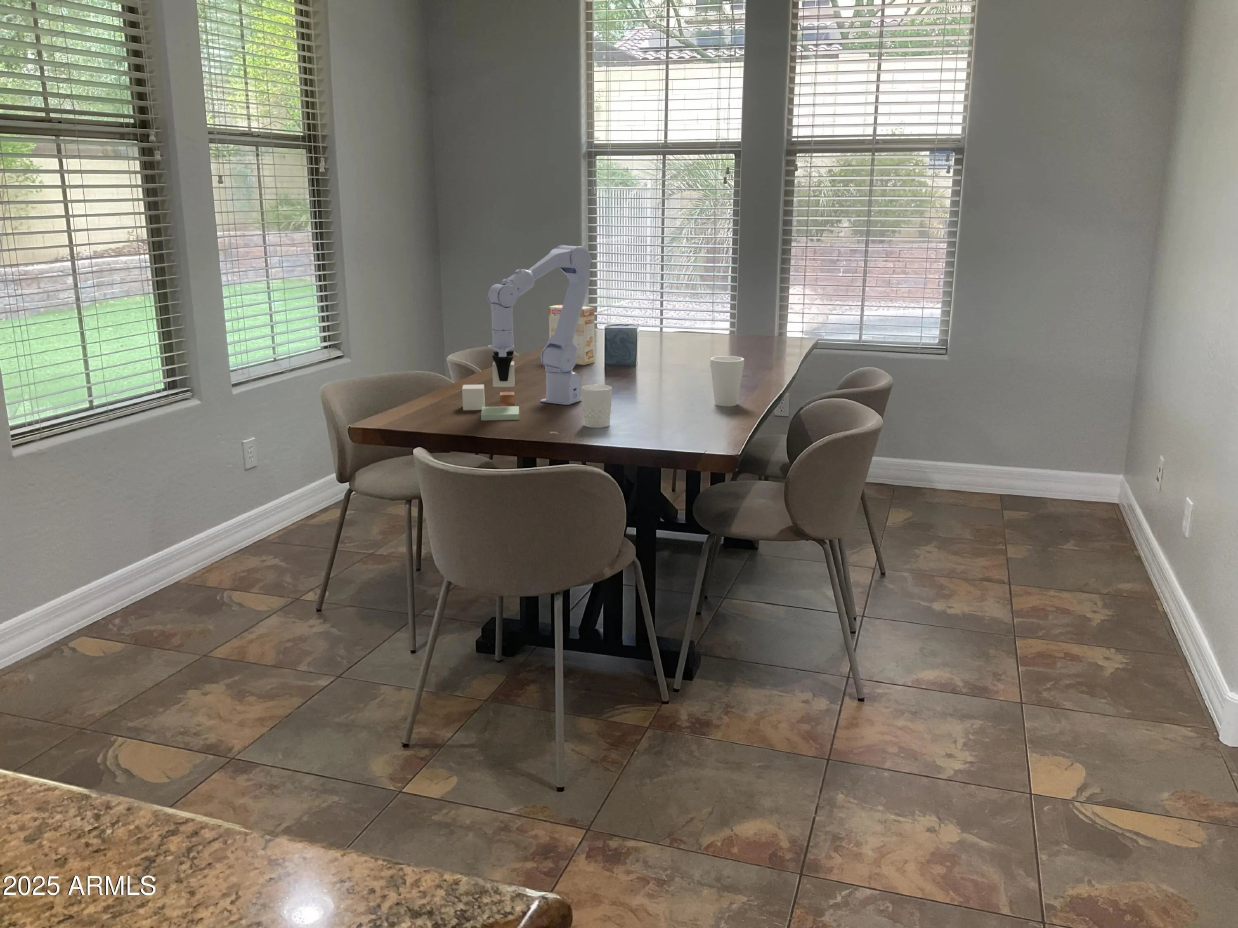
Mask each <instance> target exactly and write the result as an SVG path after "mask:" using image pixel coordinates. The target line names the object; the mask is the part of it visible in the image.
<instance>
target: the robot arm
mask: <svg viewBox="0 0 1238 928" xmlns="http://www.w3.org/2000/svg"><path fill="white" fill-rule="evenodd" d="M592 261H593V258H592V256H591V253H590V252H589V250H588V249H587V247H585V246H582V245H579V246H575V245H565V244H560V245H558V246H556V247H555V248H553V249H551V250H550V252H549V253H548V254H547V255H545V256H544V257H543V258H542V259H540V260H538V261H537V263H535V264H534V265H533V266H531V267H530V268H528V269H525V268H521V269H516V270H515V271H514V274H512V275H511V276H509V277H508V278H504V279H502V280H501V283H500V284H499V283H496V284H493V285H492V286H490V288H489V289H488V294H486V300H487V302H488V304H489V306H490V311H491V335H492V338H491V339H492V341H491V343H492V344H490V345H489V344H488V346H487V347H488V349H489V350H490V349H491V350H494V351H493V352H492V353H493V354H492V355H491V356H492V358H491V359H492V360H493V362H495V364H496V367H497V371H498V376H499V380H500V381H508V376H509V368H510V364H511V361H513V359H514V354H515V353H514V352H515V350H514V349H515V344H514V343H515V342H514V312H513V311H514V309H513V308H514V307H513V306H515V304H516V303H517V301H518V298H519V297H521V296H522V295H523V294H525V293H527V292H528V291H529V290H531V289H532V288H534V287H535V285H536V284H535V281H536V280H538V279H540V278H542V277H543V276H545V275H546V274H548V273H550V272H552V271H553V270H555V269H556V268H559V270H561V271H562V272H563V273H564V275H565V276H566V277H567V279H568V282H569V283H568V286H567V290H566V294H565V297H564V300H563V303H562V305H563V307H562V310H561V314H560V317H559V321H558V324H557V328H556V331H555V334H554V335H553V336H552V337H551V338H550V339H549V338H548V340H547V342H546V344H545V346H544V348H543V349H542V350H541V353H540V362H541V363H542V365H543V366H544V371H545V385H546V387H545V388H546V390H545V391H546V395H545V396H546V397H545V398H542V399H540V402H542V403H549V404H557V405H565V406H568V405H572V404H575V403H578V402H580V401H581V402H582V395H581V377H580V375H579V374H578V372H574V371H573V369H574V367H576V365H577V364H576V351H577V346H576V345H575V343H574V341H573V339H574V335H575V332H576V328H577V325H578V321H579V318H580V314H581V311H582V307H584V303H585V300H586V298H587V297H586V295H587V293H588V289H589V286H590V283H591V271H590V270H591V269H590V268H591V264H592Z"/></svg>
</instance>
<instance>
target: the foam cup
mask: <svg viewBox="0 0 1238 928" xmlns="http://www.w3.org/2000/svg"><path fill="white" fill-rule="evenodd" d="M709 367H710V370H711V381H712V389H713V400H714V404H715V405H716V406H719V407H734V406H738V401H739V395H740V390H741V385H742V384H741V383H742V377H743V371H744V368H745V358H743V357H741V356H735V355H734V356H733V355H731V356H730V355H721V356H720V355H718V356H717V355H716V356H712V357H711V358H710V361H709Z"/></svg>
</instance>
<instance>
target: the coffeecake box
mask: <svg viewBox="0 0 1238 928" xmlns="http://www.w3.org/2000/svg"><path fill="white" fill-rule="evenodd" d="M562 307H563V304H556V305H551V306H548V330H549V332H548V335H549V336H548V337H549V338H548V340H549V339H550V338H551V337H552V336H553V335H554V334H555V331H556V328H557V324H558V321H559V317H560V314H561V310H562ZM573 341H574V343H575V345H576V346H577V351H576V364H575V365H580V366H581V365H582V366H585V365H590V364H594V363H595V362H596V360H595V359H596V355H595V354H596V351H595V349H596V348H595V342H596V341H595V306H583V307H582V311H581V314H580V318H579V321H578V325H577V328H576V332H575V335H574V339H573Z"/></svg>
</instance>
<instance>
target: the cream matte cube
mask: <svg viewBox="0 0 1238 928" xmlns="http://www.w3.org/2000/svg"><path fill="white" fill-rule="evenodd" d="M491 372H492V388H507V387H508V388H511V387H512V388H514V387H515V382H516V381H515V361H513V360H512V361H511V364H510V368H509V376H508V381H500V380H499V376H498V371H497V367H496V364H495V362H494V361H492V371H491Z"/></svg>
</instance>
